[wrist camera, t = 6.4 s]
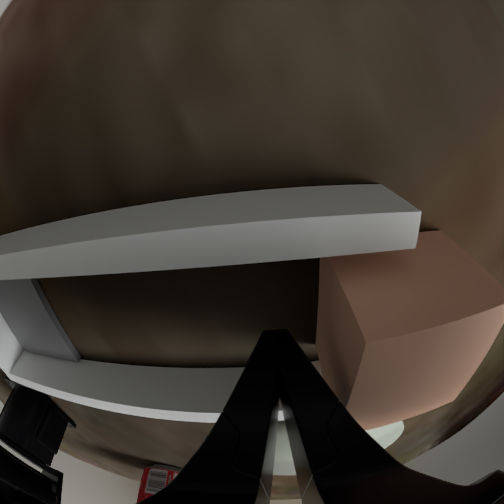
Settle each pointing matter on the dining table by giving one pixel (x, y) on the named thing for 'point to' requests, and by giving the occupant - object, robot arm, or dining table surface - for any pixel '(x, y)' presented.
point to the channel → (168, 258)
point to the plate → (284, 455)
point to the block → (404, 327)
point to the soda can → (156, 480)
